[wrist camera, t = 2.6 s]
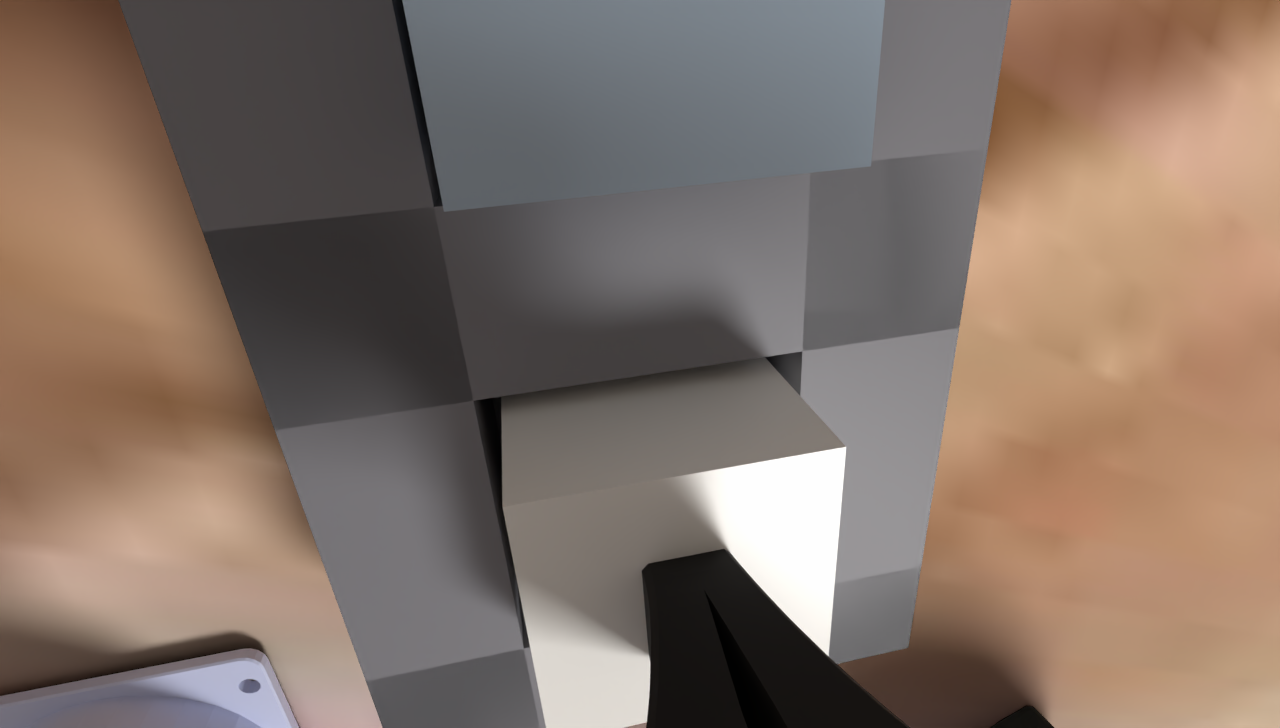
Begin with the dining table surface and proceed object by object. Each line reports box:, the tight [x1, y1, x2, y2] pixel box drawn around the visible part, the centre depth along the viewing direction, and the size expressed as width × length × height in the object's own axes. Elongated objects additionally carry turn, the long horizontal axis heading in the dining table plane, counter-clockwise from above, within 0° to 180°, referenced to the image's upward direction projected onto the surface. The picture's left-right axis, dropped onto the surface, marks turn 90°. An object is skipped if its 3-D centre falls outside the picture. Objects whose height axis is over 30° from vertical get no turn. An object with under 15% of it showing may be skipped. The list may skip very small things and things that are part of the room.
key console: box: [118, 0, 1011, 728], centre depth 12 cm, size 20×12×4 cm, turn 4°
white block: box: [501, 357, 846, 728], centre depth 12 cm, size 5×5×4 cm
